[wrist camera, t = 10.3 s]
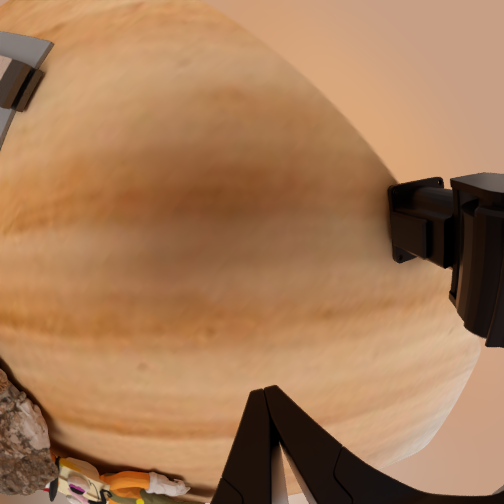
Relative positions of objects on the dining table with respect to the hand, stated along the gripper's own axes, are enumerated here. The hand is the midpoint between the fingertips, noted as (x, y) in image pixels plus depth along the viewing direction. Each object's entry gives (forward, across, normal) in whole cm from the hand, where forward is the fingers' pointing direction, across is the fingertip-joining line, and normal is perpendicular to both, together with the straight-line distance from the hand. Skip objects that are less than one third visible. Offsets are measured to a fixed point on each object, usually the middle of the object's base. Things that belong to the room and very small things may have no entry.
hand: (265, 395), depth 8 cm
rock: (+12, +34, +7) cm, 37 cm away
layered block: (+10, +12, -18) cm, 24 cm away
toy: (+12, +26, +28) cm, 40 cm away
